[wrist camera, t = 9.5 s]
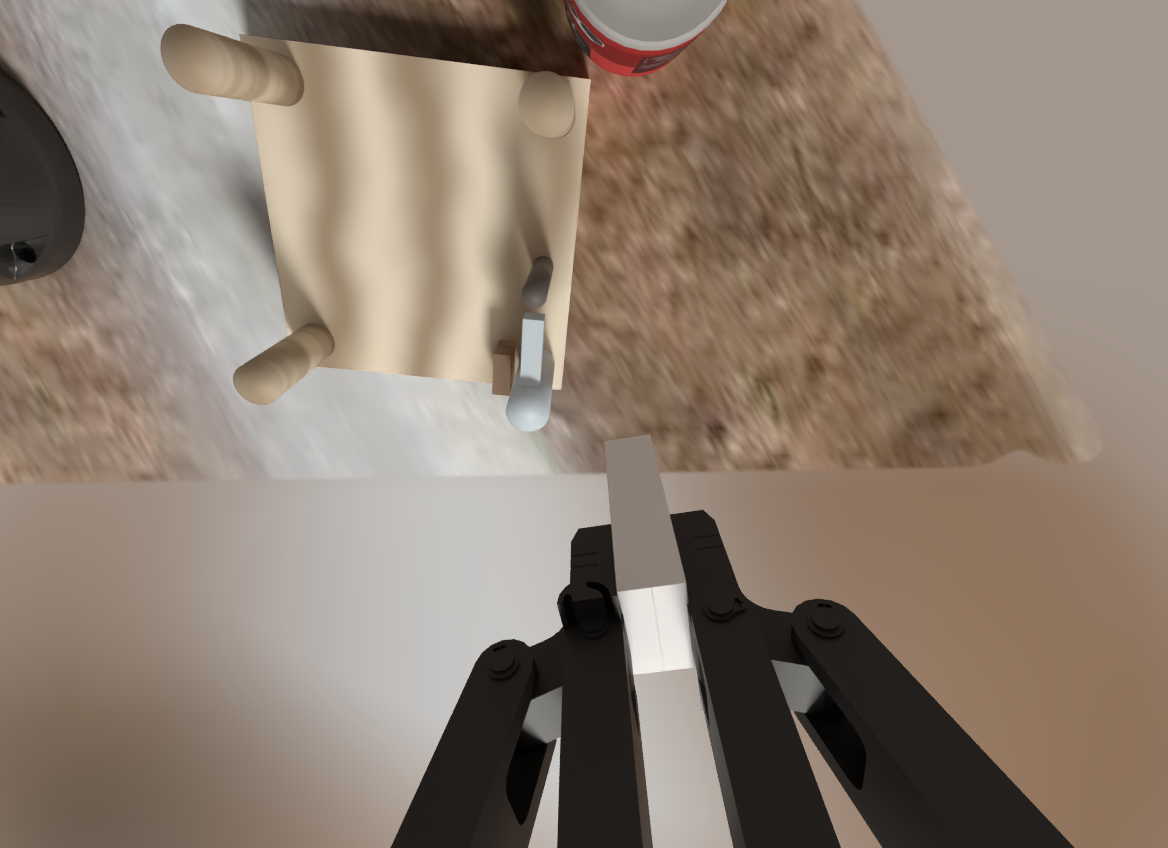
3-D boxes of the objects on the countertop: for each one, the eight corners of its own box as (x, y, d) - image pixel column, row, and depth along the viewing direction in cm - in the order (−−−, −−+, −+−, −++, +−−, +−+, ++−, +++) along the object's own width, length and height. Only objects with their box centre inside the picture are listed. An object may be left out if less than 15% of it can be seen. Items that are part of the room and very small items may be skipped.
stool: (308, 352, 41) (228, 411, 32) (263, 42, 32) (132, -3, 23) (562, 377, 42) (556, 441, 33) (589, 84, 33) (593, 58, 24)
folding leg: (518, 378, 39) (505, 429, 32) (522, 288, 36) (508, 321, 29) (553, 382, 39) (547, 433, 32) (560, 291, 36) (555, 326, 29)
